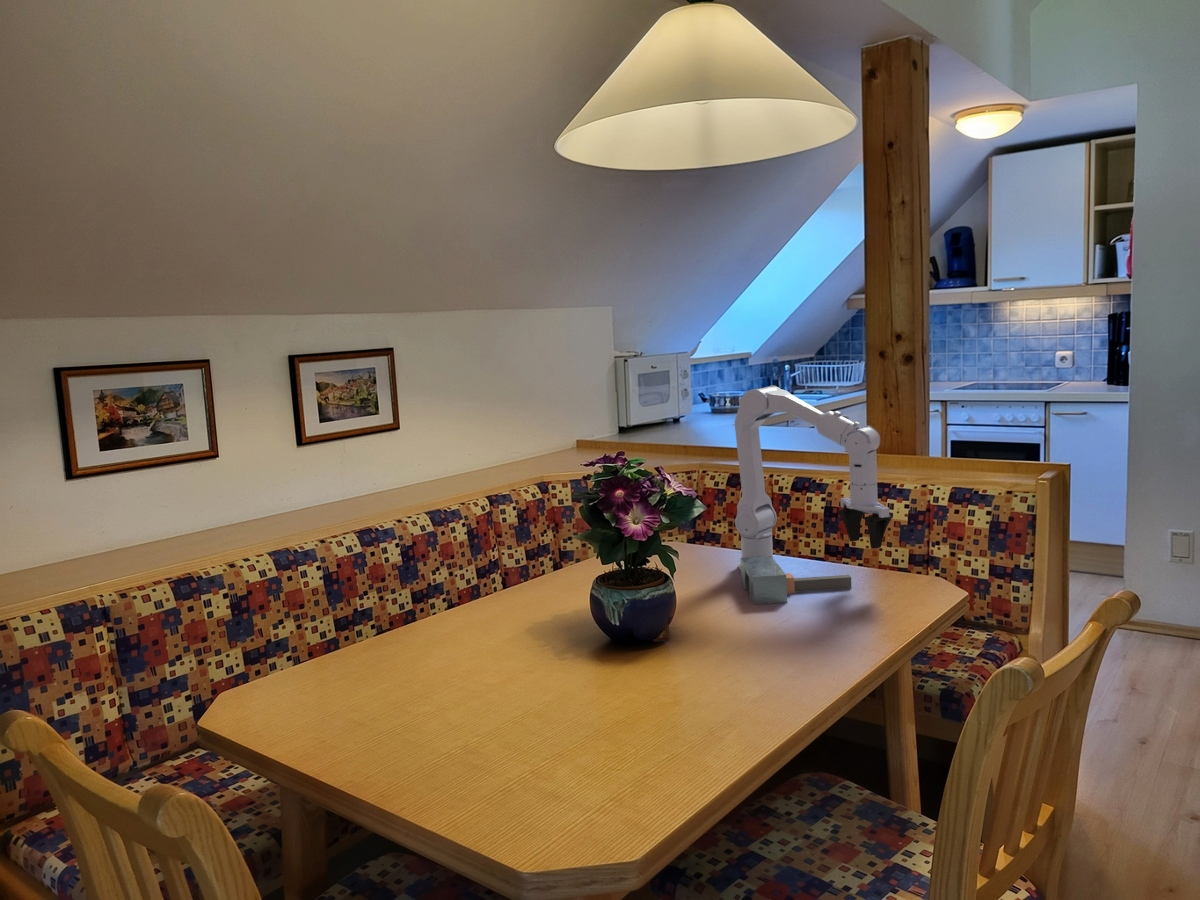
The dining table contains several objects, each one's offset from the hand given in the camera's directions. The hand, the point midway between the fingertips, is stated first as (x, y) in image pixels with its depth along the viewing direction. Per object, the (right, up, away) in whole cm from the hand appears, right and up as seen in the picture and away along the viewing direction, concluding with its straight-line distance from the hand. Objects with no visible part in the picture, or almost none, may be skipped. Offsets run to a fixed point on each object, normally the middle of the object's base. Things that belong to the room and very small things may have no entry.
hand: (865, 544), depth 202 cm
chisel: (-12, -10, +2) cm, 16 cm away
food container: (-50, -16, -22) cm, 56 cm away
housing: (-22, -11, +1) cm, 24 cm away
